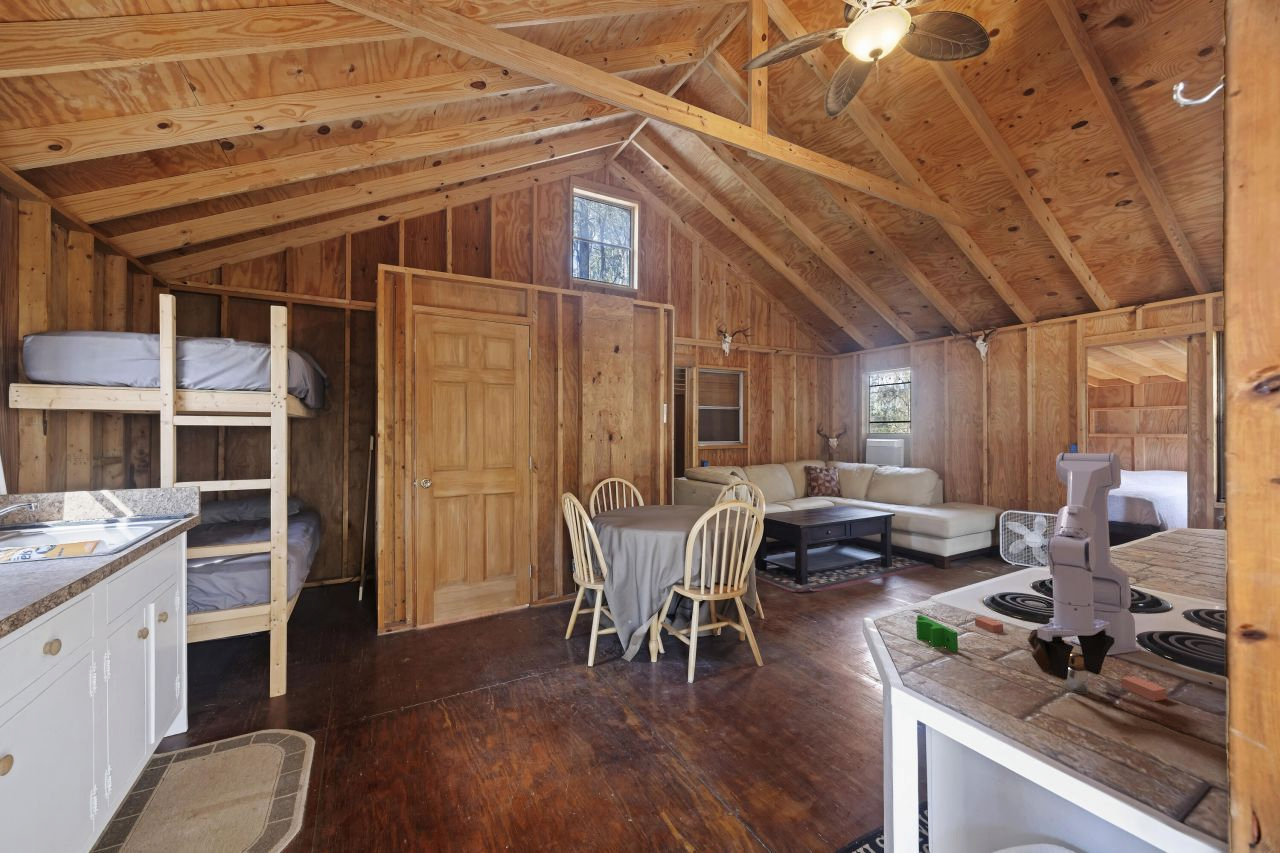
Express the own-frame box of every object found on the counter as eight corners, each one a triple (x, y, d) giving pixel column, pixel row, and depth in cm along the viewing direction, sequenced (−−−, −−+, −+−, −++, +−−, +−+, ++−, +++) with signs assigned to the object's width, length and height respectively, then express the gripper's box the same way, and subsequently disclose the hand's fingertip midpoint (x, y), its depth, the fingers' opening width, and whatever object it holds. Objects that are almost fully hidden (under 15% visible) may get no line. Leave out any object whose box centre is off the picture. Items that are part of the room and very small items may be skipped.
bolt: (1043, 653, 113) (1056, 679, 101) (1019, 638, 116) (1028, 662, 103) (1059, 632, 112) (1073, 656, 99) (1033, 618, 115) (1045, 639, 102)
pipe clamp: (908, 635, 121) (907, 616, 122) (922, 633, 122) (921, 614, 122) (943, 654, 110) (942, 633, 110) (958, 652, 111) (957, 631, 111)
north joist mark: (1134, 685, 95) (1133, 675, 95) (1166, 698, 90) (1166, 688, 90) (1121, 687, 94) (1121, 677, 94) (1153, 701, 89) (1153, 690, 89)
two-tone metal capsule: (1074, 684, 96) (1073, 650, 96) (1093, 692, 93) (1091, 657, 93) (1061, 686, 95) (1059, 652, 95) (1079, 695, 92) (1077, 659, 92)
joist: (985, 624, 126) (984, 616, 126) (1003, 631, 121) (1003, 624, 121) (975, 625, 125) (974, 618, 125) (993, 633, 121) (992, 625, 121)
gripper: (1081, 591, 100) (1084, 660, 99) (1020, 598, 97) (1023, 669, 96) (1121, 603, 93) (1125, 677, 92) (1058, 610, 90) (1061, 687, 89)
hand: (1076, 674), depth 94 cm, fingers open, 7 cm apart
